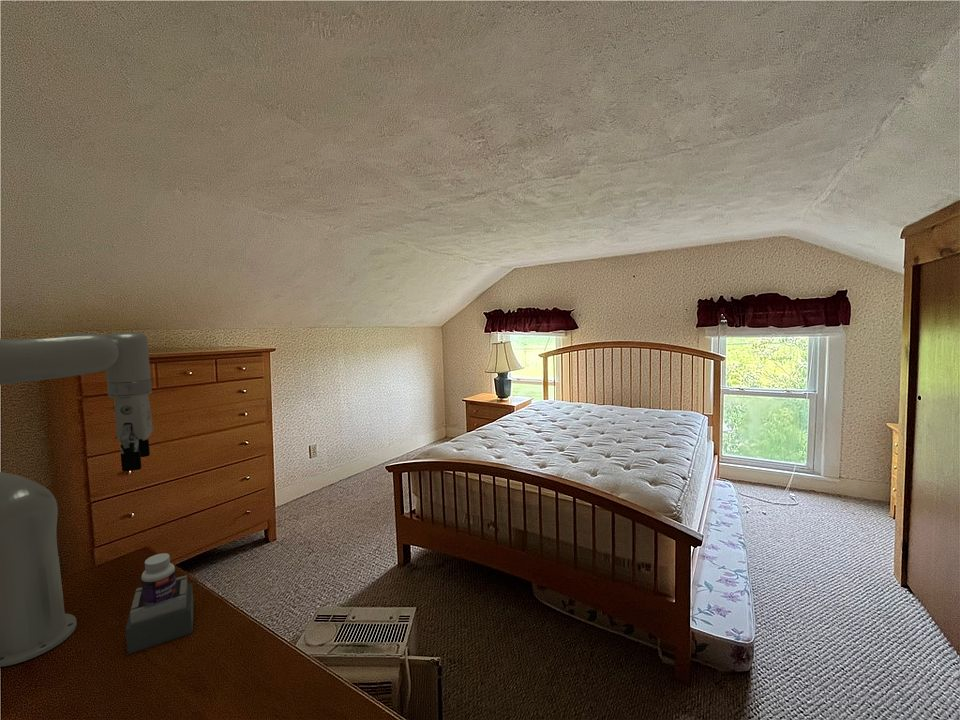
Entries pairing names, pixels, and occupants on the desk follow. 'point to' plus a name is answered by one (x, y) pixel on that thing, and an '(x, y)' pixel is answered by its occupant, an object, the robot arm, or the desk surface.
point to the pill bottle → (158, 579)
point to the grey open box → (160, 618)
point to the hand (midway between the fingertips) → (136, 463)
